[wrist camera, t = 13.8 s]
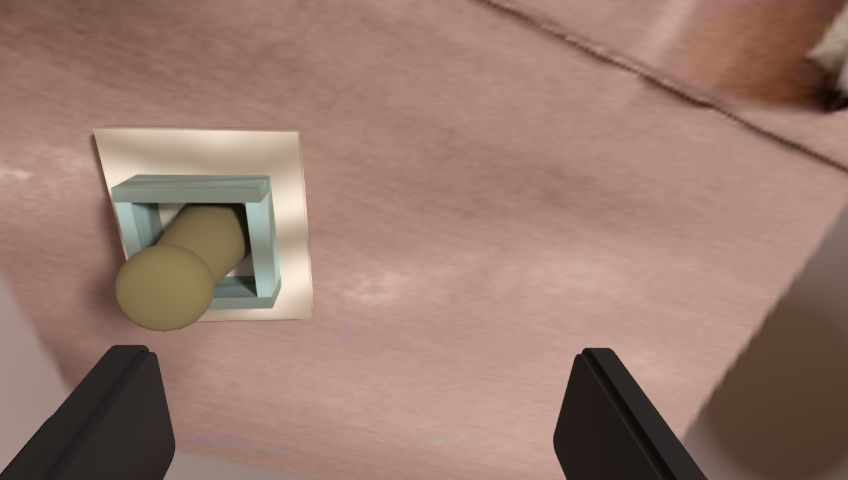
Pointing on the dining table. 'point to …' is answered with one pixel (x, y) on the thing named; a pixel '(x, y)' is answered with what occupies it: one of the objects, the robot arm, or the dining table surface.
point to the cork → (183, 266)
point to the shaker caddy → (219, 183)
